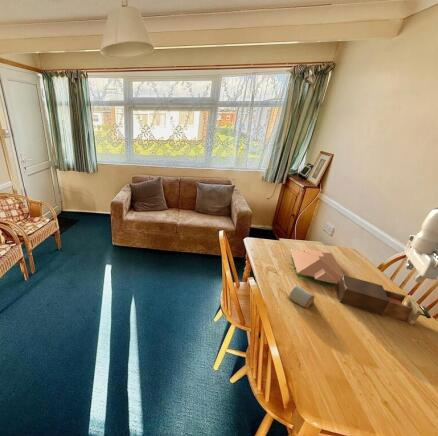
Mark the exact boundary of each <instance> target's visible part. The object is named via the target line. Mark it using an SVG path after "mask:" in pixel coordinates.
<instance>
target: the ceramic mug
mask: <svg viewBox="0 0 438 436" xmlns="http://www.w3.org/2000/svg"><path fill="white" fill-rule="evenodd" d="M288 299H289V300H290V301H292V302H294V303H296V304H297V305H299V306H300V307H302V308H305V309H308V308H309V307H310V306H311V305H312V304H313V302H314V300H315V296H314V295H313V294H312V293H311V292H310V291H307V290H306V289H304V288H303V287H301V286H299V285H295V286H294V287H293V288H292V289H291V291H290V292H289V295H288Z"/></svg>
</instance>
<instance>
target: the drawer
mask: <svg viewBox="0 0 438 436" xmlns="http://www.w3.org/2000/svg"><path fill="white" fill-rule="evenodd" d="M384 290H385V292H386V295H387V297H389V298H393V299H396V300H400V301H401V303H402V304H398V303H395V302H391V301H390V302H389V303H388V305H387V307H386V308H385V310H384V312H383V313H382V315H385V316H388V317H391V318H393V319H397V320H401V321H403V322H405V321H407V322H408V323H409V324H410V325H415V323H416V322H417V320H418V319H419V317H420V316H422V317H425V318H426V319H432V316H431V315H430V313H429V311H428V310H427V308H426V307H425V306H424V305H421V306H420V305H419V304H418V302H417V301H416V299H415V298H414V296H413V295H410V294H409V295H408V296H406V295H405V294H402V293H398V292H395V291H391V290H388V289H384ZM406 297H407V298H406ZM405 298H406V299H405ZM404 300H405V301H404Z"/></svg>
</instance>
